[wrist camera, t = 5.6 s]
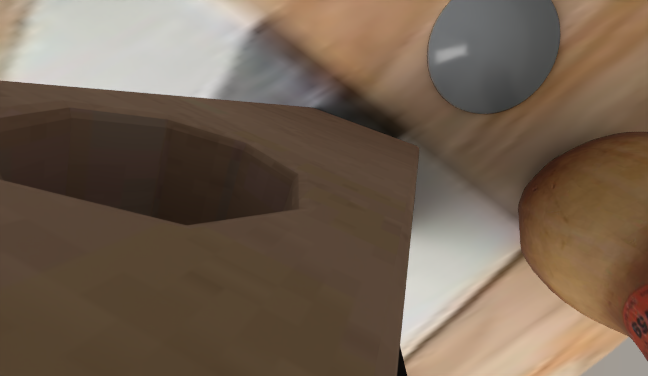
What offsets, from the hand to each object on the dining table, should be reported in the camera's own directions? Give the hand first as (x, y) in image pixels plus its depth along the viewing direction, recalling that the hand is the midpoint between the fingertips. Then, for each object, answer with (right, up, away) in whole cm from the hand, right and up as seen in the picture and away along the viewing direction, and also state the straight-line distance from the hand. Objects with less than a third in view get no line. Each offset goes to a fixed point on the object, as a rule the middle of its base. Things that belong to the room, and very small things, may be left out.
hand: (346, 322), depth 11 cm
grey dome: (+13, +16, +15) cm, 25 cm away
